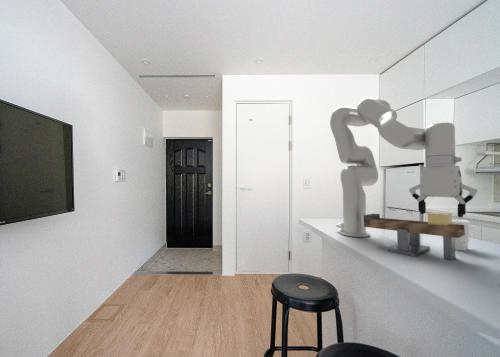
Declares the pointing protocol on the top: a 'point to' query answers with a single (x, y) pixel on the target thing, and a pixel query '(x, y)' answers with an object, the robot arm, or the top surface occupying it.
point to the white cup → (462, 241)
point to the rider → (440, 219)
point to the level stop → (449, 247)
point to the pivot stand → (408, 243)
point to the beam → (413, 226)
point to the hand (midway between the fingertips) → (440, 215)
